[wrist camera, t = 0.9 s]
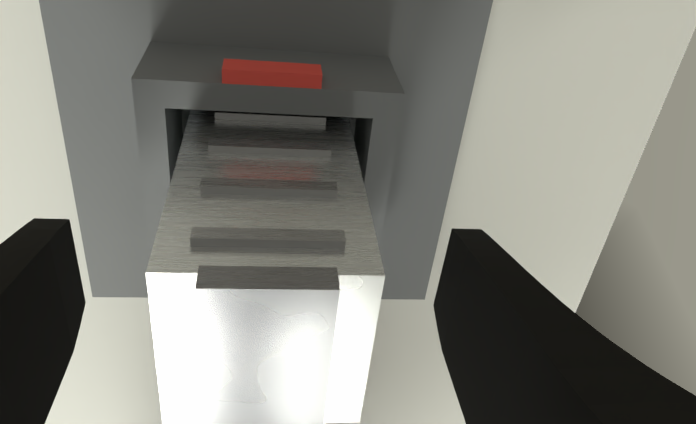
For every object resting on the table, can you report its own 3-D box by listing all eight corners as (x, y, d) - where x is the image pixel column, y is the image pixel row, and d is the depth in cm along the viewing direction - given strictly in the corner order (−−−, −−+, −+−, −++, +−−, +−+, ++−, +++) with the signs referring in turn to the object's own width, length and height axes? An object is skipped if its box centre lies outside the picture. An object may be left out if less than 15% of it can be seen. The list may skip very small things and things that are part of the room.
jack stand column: (332, 220, 17) (363, 451, 11) (200, 216, 16) (156, 457, 10) (345, 91, 15) (394, 290, 9) (194, 83, 14) (135, 288, 8)
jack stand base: (523, 419, 25) (556, 500, 22) (19, 430, 23) (-20, 525, 20) (896, -486, 11) (1126, -592, 8) (-369, -762, 8) (-731, -1079, 5)
